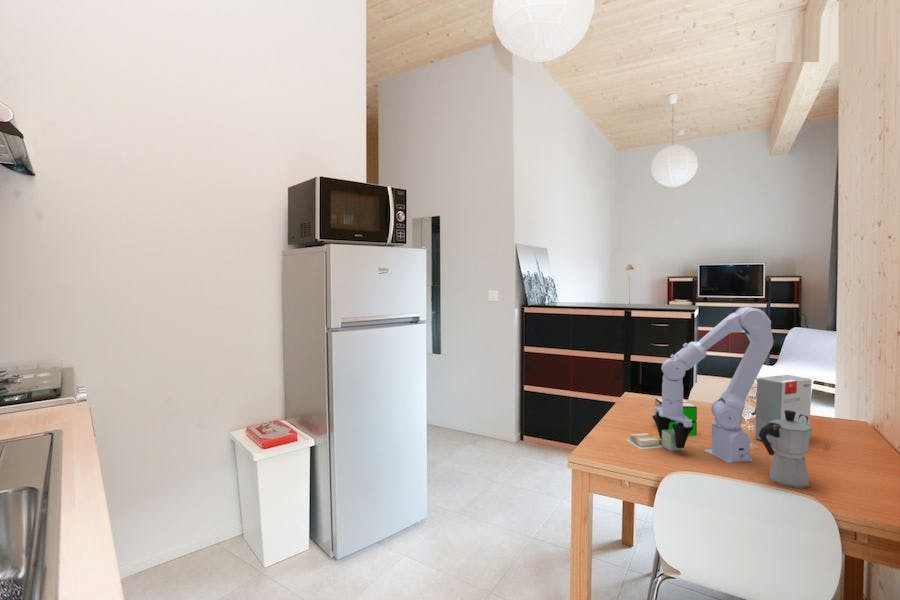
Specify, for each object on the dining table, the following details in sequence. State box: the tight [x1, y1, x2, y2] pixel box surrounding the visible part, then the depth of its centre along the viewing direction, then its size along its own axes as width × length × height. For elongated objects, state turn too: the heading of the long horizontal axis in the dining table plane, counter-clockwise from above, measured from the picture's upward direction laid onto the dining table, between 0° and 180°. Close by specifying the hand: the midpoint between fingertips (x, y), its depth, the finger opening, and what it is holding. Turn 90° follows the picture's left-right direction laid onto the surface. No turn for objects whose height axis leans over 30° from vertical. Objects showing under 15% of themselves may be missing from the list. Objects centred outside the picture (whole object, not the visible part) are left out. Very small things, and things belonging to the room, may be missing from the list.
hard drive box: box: [754, 374, 813, 445], centre depth 142 cm, size 16×8×20 cm, turn 112°
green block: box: [661, 429, 683, 452], centre depth 135 cm, size 4×4×5 cm
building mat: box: [625, 438, 664, 450], centre depth 139 cm, size 14×16×1 cm
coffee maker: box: [759, 410, 813, 489], centre depth 113 cm, size 15×9×18 cm, turn 99°
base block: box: [629, 432, 660, 447], centre depth 139 cm, size 6×6×2 cm
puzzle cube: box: [654, 398, 698, 436], centre depth 151 cm, size 10×10×10 cm
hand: (671, 443), depth 135 cm, fingers open, 7 cm apart
